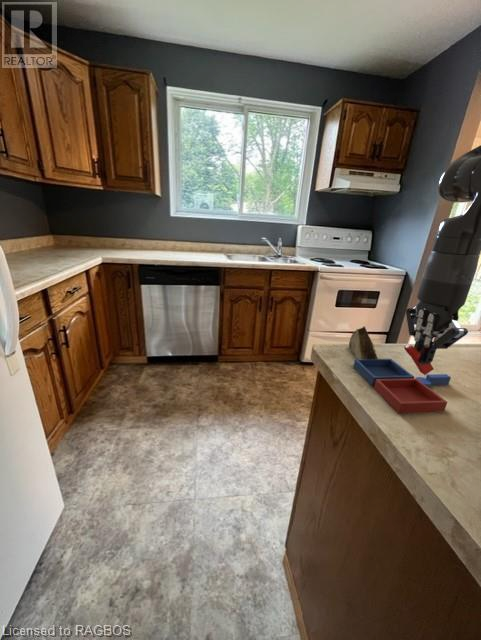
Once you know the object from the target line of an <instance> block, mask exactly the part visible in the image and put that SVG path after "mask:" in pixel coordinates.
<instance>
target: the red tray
mask: <svg viewBox="0 0 481 640" xmlns="http://www.w3.org/2000/svg"><path fill="white" fill-rule="evenodd" d="M373 389H374V390H375V391H376V392H377V393H378V394H379V395H380V396H381V398H383V399H384V400H385V401H386V403H387V404H389V405H390V407H392V408H393V410H395V412H396V413H397V414H418V413H441V412H443V413H444V412H445V410H446V407H447V404H448V401H447V400H446V399H444V398H443V397H442V396H440V395H439V394H438V393H436V392H435V391H434V390H433V389H431V387H427V386H426V385H425V384H423V383H422V382H421V381H419V380H418V379H417V378H416V377H414V378H413V379H376V381H375V385H374V386H373Z"/></svg>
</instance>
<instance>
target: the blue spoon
mask: <svg viewBox="0 0 481 640" xmlns="http://www.w3.org/2000/svg"><path fill="white" fill-rule="evenodd" d="M425 376H426V377H422V376H416V377H415V378H417V379H418V380H419V381H421V382H422V383H423V384H425V385H426V386H427V387H429V388H431V386H449V384H450V382H451V378H452V376H450V375H448V373H441V374H439V373H438V374H435V373H433V374H426V375H425Z"/></svg>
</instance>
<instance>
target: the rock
mask: <svg viewBox="0 0 481 640" xmlns="http://www.w3.org/2000/svg"><path fill="white" fill-rule="evenodd" d="M348 350H349V352H351V353H352V354H353V355H354V356H355V359H379V358H378V355H377V353H376V349H375V346H374V343H373V341H372V339H371V337H370V335H369V332H368V330H367V328H366V326H365V325H364V326H362V327H360V328H356V329H355V330H354V332H353V333H351V335H350V338H349V342H348Z"/></svg>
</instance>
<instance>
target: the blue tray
mask: <svg viewBox="0 0 481 640" xmlns="http://www.w3.org/2000/svg"><path fill="white" fill-rule="evenodd" d="M353 369H354V370H355V371H356V372H357V373H358V374H359V375H360V376H361V377H362V378H363V379H364V380H365V381H366V382H367V383H368V384H369V385H370V386H371V387H374V385H375V381H376V379H413V378H414V379H415V376H414V375H413V374H411V373H410V372H409V371H408V370H407V369H405V368H404V367H402V366H401V365H400V364H398V363H397V362H396V361H395V360H393V359H392V358H378V359H357V358H355V359H354V361H353Z"/></svg>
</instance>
